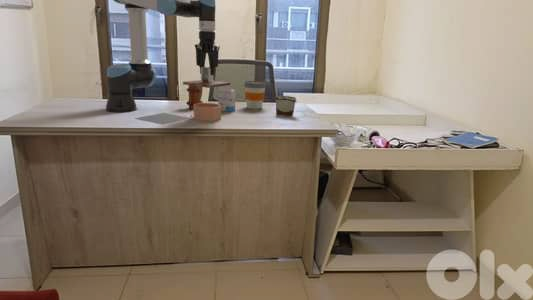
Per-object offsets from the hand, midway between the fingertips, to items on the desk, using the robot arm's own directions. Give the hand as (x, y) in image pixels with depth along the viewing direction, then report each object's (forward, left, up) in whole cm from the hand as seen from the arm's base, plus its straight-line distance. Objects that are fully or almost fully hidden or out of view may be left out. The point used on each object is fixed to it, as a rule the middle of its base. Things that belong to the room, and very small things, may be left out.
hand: (207, 81), depth 186 cm
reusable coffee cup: (-1, +44, -19) cm, 48 cm away
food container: (+24, +38, -19) cm, 49 cm away
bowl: (0, 0, -19) cm, 19 cm away
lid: (0, 0, -2) cm, 2 cm away
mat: (-15, -15, -19) cm, 28 cm away
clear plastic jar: (-7, +25, -19) cm, 32 cm away
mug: (-24, +19, -19) cm, 36 cm away
